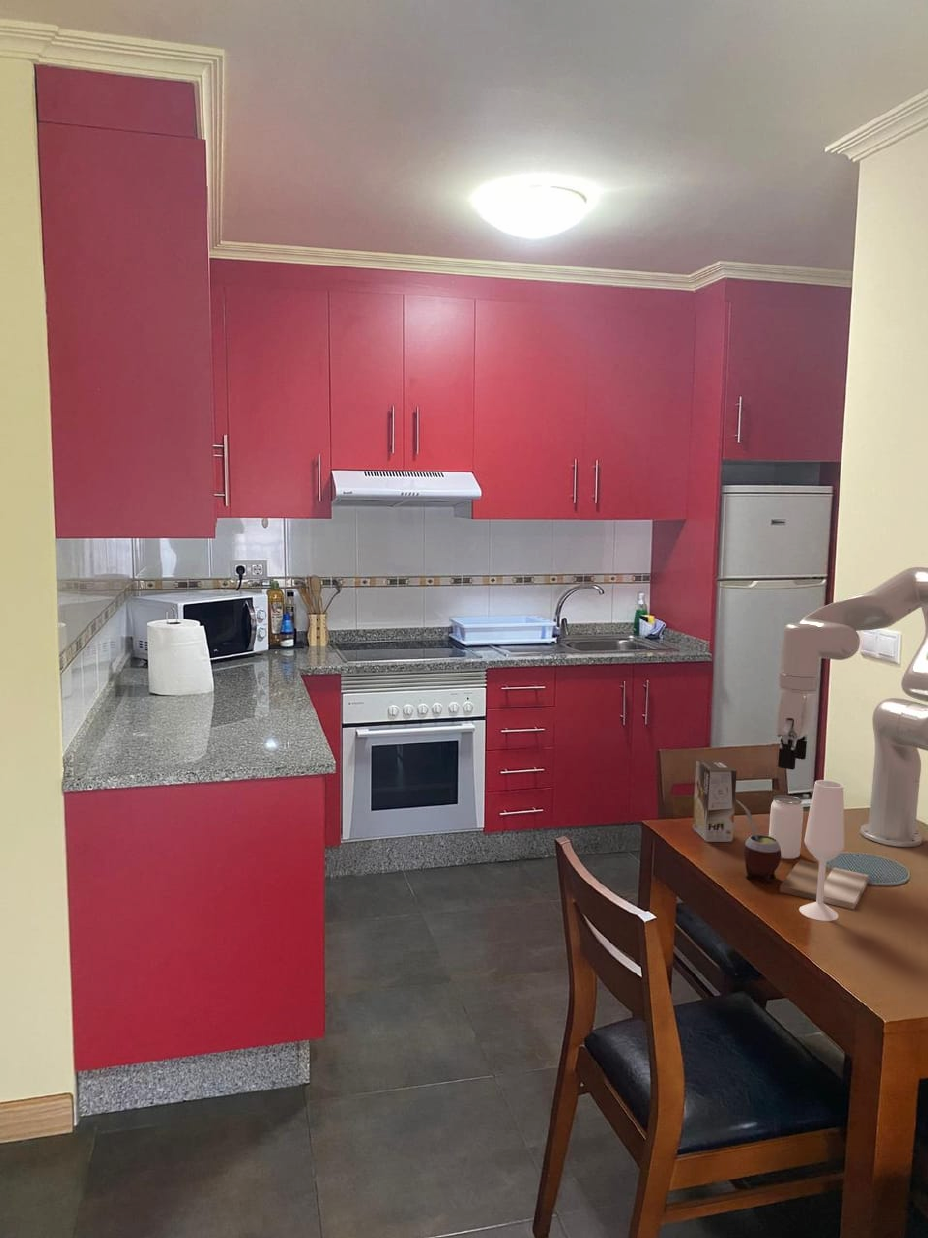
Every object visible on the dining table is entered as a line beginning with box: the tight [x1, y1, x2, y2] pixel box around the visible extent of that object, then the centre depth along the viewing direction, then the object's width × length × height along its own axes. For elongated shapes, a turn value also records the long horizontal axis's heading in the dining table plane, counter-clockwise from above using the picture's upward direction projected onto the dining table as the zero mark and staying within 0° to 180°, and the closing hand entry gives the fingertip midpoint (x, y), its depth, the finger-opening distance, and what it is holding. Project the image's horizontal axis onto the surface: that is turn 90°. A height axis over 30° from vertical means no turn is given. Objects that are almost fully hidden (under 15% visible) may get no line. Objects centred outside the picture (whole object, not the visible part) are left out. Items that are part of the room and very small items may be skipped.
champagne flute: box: [798, 779, 845, 922], centre depth 162 cm, size 7×7×24 cm
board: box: [779, 859, 870, 910], centre depth 175 cm, size 16×13×1 cm
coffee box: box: [692, 759, 738, 843], centre depth 201 cm, size 9×6×16 cm
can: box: [768, 794, 804, 860], centre depth 191 cm, size 6×6×12 cm
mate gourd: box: [735, 799, 782, 886], centre depth 178 cm, size 8×8×15 cm
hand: (792, 763), depth 190 cm, fingers open, 9 cm apart
